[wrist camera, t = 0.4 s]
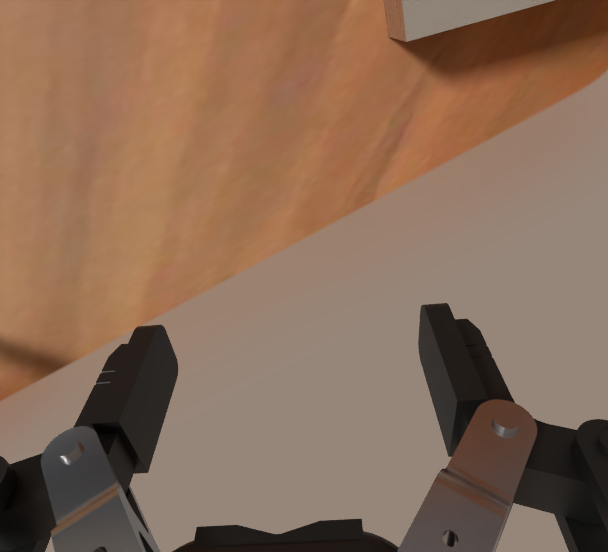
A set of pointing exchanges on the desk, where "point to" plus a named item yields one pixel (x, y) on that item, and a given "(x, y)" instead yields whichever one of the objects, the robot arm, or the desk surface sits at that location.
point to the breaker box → (444, 14)
